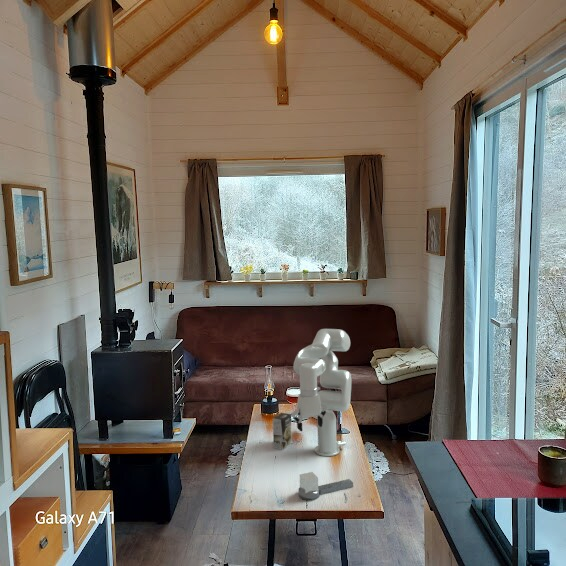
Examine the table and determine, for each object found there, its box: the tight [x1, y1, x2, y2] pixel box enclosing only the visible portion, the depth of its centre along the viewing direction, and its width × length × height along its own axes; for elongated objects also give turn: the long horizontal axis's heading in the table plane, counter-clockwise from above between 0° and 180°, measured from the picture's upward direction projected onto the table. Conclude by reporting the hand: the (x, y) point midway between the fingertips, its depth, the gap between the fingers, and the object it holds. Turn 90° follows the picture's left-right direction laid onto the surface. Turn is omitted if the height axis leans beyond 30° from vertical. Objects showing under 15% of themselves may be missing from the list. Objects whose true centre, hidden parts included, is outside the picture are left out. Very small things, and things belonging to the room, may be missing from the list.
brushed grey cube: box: [299, 471, 319, 494], centre depth 227 cm, size 6×6×6 cm
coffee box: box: [272, 412, 293, 451], centre depth 277 cm, size 9×6×16 cm
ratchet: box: [298, 478, 354, 501], centre depth 230 cm, size 25×9×6 cm, turn 111°
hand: (310, 427), depth 236 cm, fingers open, 9 cm apart
